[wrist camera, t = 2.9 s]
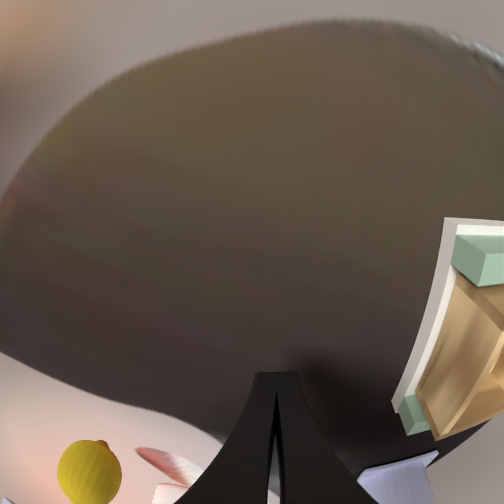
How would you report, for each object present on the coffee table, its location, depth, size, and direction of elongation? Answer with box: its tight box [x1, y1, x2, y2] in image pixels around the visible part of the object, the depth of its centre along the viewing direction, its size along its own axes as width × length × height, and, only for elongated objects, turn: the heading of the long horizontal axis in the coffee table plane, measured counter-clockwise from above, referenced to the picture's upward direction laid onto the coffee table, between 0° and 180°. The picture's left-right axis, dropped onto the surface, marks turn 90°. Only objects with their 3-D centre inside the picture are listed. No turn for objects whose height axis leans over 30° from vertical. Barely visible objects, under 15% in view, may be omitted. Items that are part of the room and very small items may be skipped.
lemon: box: [58, 440, 122, 504], centre depth 14 cm, size 6×6×8 cm
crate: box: [415, 273, 504, 441], centre depth 8 cm, size 7×6×4 cm
